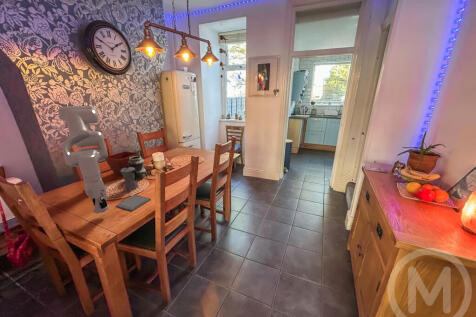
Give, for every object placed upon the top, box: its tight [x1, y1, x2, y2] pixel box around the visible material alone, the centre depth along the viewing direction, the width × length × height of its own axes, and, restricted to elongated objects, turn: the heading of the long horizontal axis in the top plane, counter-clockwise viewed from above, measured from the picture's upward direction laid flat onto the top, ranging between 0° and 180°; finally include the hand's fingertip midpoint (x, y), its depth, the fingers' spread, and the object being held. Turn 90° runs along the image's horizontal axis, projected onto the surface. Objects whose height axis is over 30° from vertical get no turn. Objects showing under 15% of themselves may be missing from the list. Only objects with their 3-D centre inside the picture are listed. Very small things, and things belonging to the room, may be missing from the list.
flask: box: [93, 197, 110, 214], centre depth 100 cm, size 7×7×10 cm
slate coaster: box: [115, 194, 152, 212], centre depth 116 cm, size 14×14×1 cm
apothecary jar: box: [128, 155, 147, 181], centre depth 150 cm, size 12×12×18 cm
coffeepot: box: [120, 166, 139, 192], centre depth 132 cm, size 15×9×18 cm, turn 64°
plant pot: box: [105, 150, 140, 177], centre depth 159 cm, size 19×19×17 cm
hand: (100, 205), depth 101 cm, fingers closed on flask, 5 cm apart
